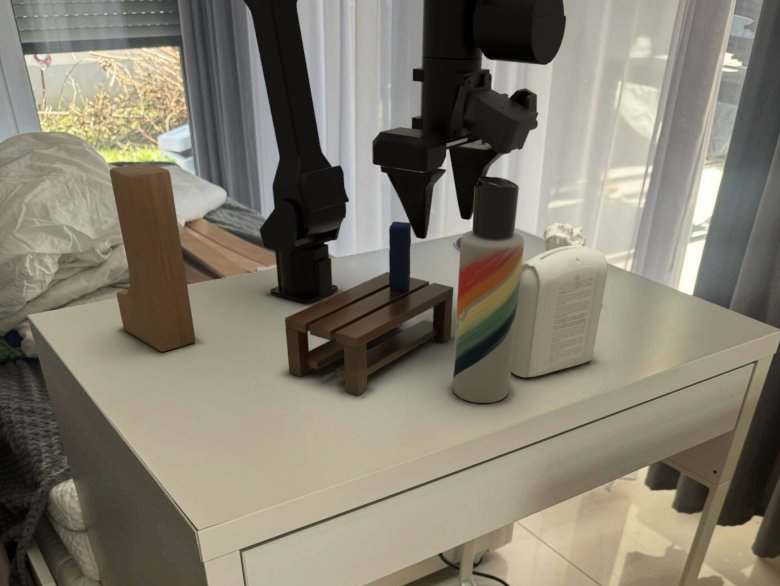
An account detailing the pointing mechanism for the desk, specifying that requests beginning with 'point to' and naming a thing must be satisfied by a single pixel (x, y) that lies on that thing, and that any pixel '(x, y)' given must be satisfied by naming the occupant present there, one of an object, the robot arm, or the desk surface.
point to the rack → (367, 327)
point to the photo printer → (558, 310)
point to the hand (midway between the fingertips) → (444, 228)
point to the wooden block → (152, 258)
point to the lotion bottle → (488, 294)
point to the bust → (563, 236)
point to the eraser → (399, 256)
